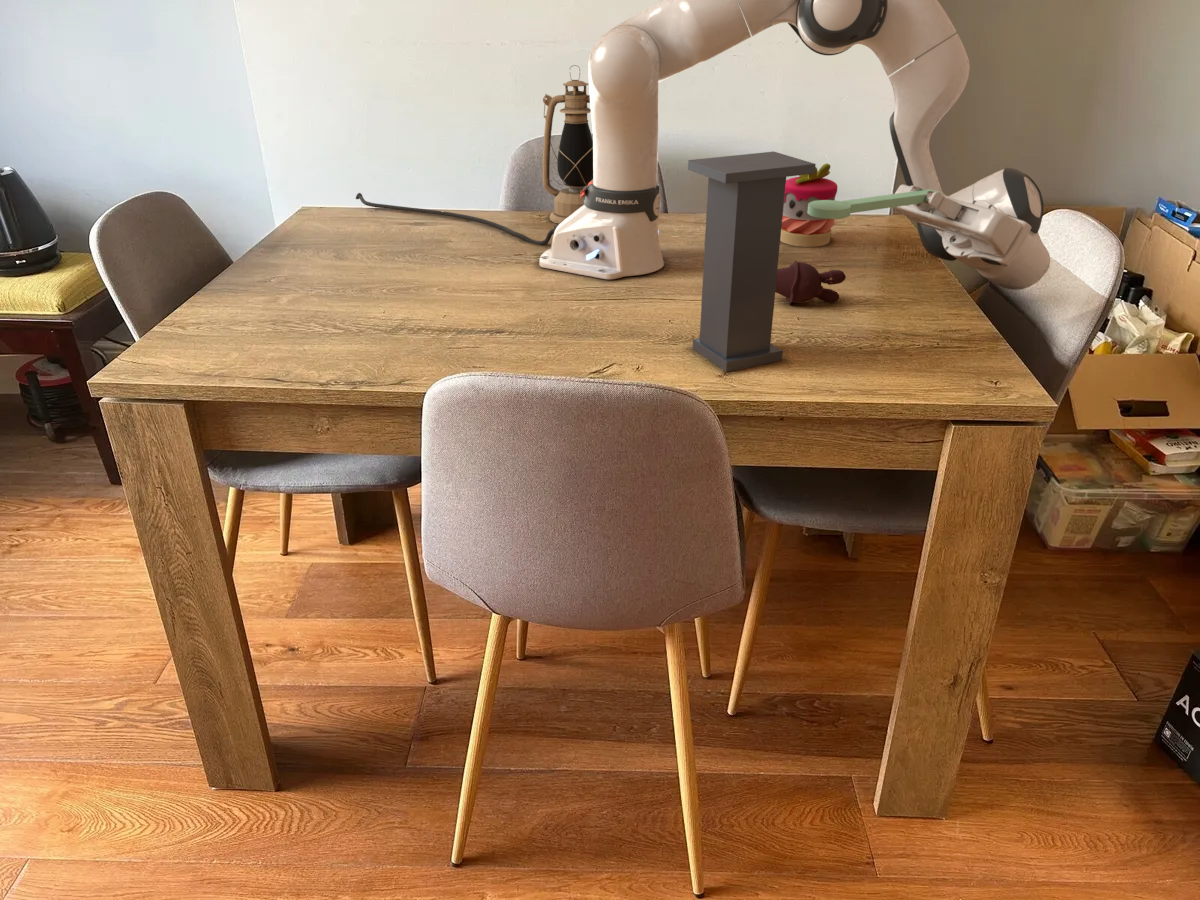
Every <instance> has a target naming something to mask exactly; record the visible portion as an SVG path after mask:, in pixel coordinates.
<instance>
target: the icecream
mask: <svg viewBox="0 0 1200 900" xmlns="http://www.w3.org/2000/svg"><path fill="white" fill-rule="evenodd" d="M846 279H847V276H846V274H845V272H844V271H842V270H840V269H830V270H828V271H824V272H819V271H818V269H817V268H816V267H815V266H814V265H813V266H812V265H811V264H809V263H806V262H802V261H797V259H796V260H794V261H793V263H791V264H789V266H785V267H782V268H778V269H777V280H776V290H775V294H778V295H780V296H782V297H784V298H785V300H786V301H787V304H788V305H791V304H792V303H794V304H803V303H807V302H809V301H812V300H813V299H815V298H816V299H817V300H820V301H821V302H824V303H831V304H833V303H836V302H838V301H840V294H839V293H838V291H836V290H833V289H831V288H824V286H823V285H822V284H827V285H828V286H831V285H838V284H841V283H843V282H844V281H846Z"/></svg>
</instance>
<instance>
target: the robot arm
mask: <svg viewBox="0 0 1200 900" xmlns="http://www.w3.org/2000/svg"><path fill="white" fill-rule="evenodd" d="M783 23H785V24H788V25H789V27H790V28H791V29H792V30H793V31H794V33H795V34H796V35H797V37H798V38H799V39H800V40H801V42H802V43H803V44H804V45H805V46H806V47H807V48H808V49H810V51H812V52H813V53H816V54H819V55H821V56H837V55H840V54H843V53H845V52H846V51H848V50H849V49H851V48H852V47H854V46H855V45H862V46H865V47H867V48H868V49H870V50H871V51H872V52H873V53H874V54H875V56H876V58H878V59H879V61H880V63H881V65H882V68H883V70H884V72H885V75H886V76H887V77H888V80H889V82H890V85H891V87H892V92H893V97H894V110H893V112H892V114H891V115H890V117H889V121H888V123H889V132H890V137H891V141H892V144H893V148H894V151H895V154H896V155H895V156H896V158H897V162H898V164H899V168H900V171H901V174H902V177H903V180H904V183H905V184H903V183H902V184H900V185H899V186H898V188H897V189H896V191H895V192H894V194H898V193H905V192H913V191H920V190H927V189H931V190H935V191H938V192H941V194H939V193H938V192H934V191H928V193H927V196H925V198H924V203H919V204H912V205H905V206H898V207H891V209H894V210H895V211H897V212H898V213H900V214H902V215H903V216H905V217H906V218H908V219H910V220H911V221H914V222H915V223H916V226H917V227H916V228H917V232H918V236H919V239H920V242H921V244H922V247H923V249H924V250H925V251H926V252H927V253H928V254H930V255H931V256H934V257H935V258H937V259H941V260H945V261H948V262H949V261H950V262H954V261H956V260H958V261H959V262H961V263H962V264H964V265H965V266H967V267H969V268H971V269H975V270H976V271H977V273H978V274H979V275H981V276H982V277H984V278H985V279H987V280H988V281H990V282H992V283H994V285H997V286H999V287H1001V288H1004V289H1007V290H1012V291H1020V290H1024V289H1027V288H1029V287H1032V286H1034V285H1035V284H1037V283H1038V282H1039V281H1041V280H1042V279H1043V278H1044V276H1045V275H1046V274H1047V272H1048V271H1049V268H1050V266H1051V256H1050V253H1049V250H1048V248H1047V247H1046V246H1045V244H1044V242H1043V241H1042V239H1041V237H1040V234H1039V231H1040V228H1041V225H1042V222H1043V216H1044V209H1045V207H1044V205H1045V204H1044V198H1043V195H1042V192H1041V190H1040V188H1039V186H1038V185H1037V183H1036V182H1035V181H1034V180H1033V179H1032V178H1031V176H1029V175H1028V174H1026V173H1025V172H1023V171H1021V170H1019V169H1016V168H1013V167H1004V168H1003V169H1000V170H998V171H996V172H994V173H992V174H990V175H988V176H985V177H983V178H981V179H980V180H979V179H978V180H977V181H976V182H974V183H972V184H970V185H968V186H966V187H964V188H962V189H959V190H958V191H956V192H954V193H952V194H949V195H947V194H946V193H944V192H943V190H942V187H941V186H942V185H941V184H940V181H939V177H938V174H937V171H936V167H935V165H934V162H933V159H932V158H933V157H932V155H931V150H930V140H931V137H932V134H933V132H934V131H935V128H936V127H937V125H938V124H939V123H940V121H941V120H942V119H943V118H944V117H945V116H946V114H947V113H948V112H949V111H950V110H951V109H952V107H954V105H955V104H956V102H957V101H958V100H959V99H960V97H961V95H962V94H963V92H964V90H965V88H966V86H967V83H968V80H969V77H970V69H971V65H970V60H969V57H968V53H967V50H966V48H965V46H964V44H963V42H962V39H961V38H960V35H959V34H958V33H957V30H956V28H955V26H954V24H953V22H952V21H951V19H950V17H949V16H948V14H947V12H946V11H945V9H944V7H943V6H942V5H941V3H940V2H939V1H938V0H660V1H659V2H657V3H655V4H653V5H651V6H649V7H647V8H646V9H644V10H642V11H640V12H639V13H637V14H635V15H633V16H631V17H629V18H627V19H625V20H624V21H623V22H620V23H619V24H617V25H615V26H614V27H612V28H610V30H608V31H607V32H605V33H604V34H602V35H601V36H600V37H599V38H598V39H597V40H596V42H595V43H594V45H593V46H592V48H591V51H590V52H589V53H590V54H589V56H588V63H587V64H588V65H587V66H588V67H587V68H588V69H587V70H588V84H589V85H588V89H589V95H590V103H589V106H590V107H589V109H591V112H590V119H591V129H592V130H591V132H592V140H593V180H592V181H591V182H589V184H588V186H586V187H585V188H583V191H581V192H580V193H582V194H581V196H580V198H583V200H584V205H583V206H582V207H580V208H579V209H578V210H576V211H575V212H574V213H573V214H571V215H570V216H569V217H568V218H566V219H565V220H564V221H563V222H562V223H560V224H559V223H557V224H554V225H553V228H551V229H549V231H548V232H547V234H546V237H545V239H543V240H539V241H538V240H535V239H532V238H530V237H529V236H527V235H524V234H523V233H520V232H517V231H515V230H512V229H511V228H508V227H506V226H504V225H502V224H499V223H496V222H494V221H491V220H488V219H484V218H480V217H476V216H472V215H467V214H462V213H458V212H457V213H456V212H450V211H444V212H441V211H442V210H435V209H427V208H420V207H411V206H410V207H409V206H401V205H392V204H386V203H385V204H384V203H375V202H371V201H367V200H365V198H364V196H363V194H362V193H361V192H358V193H357V194H356V196H355V200H359V201H360V202H361V203H362V204H363V205H365V206H366V207H371V208H377V209H386V210H396V211H403V212H410V213H411V212H413V213H420V214H428V215H435V216H436V215H438V216H445V217H451V218H457V219H463V220H467V221H472V222H477V223H480V224H483V225H487V226H490V227H494V228H496V229H498V230H501V231H503V232H505V233H507V234H509V235H511V236H513V237H516V238H518V239H521V240H523V241H525V242H527V243H529V244H533V245H537V246H545V245H548V244H549V242H550V241H551V247H550V248H548V249H547V250H545V251H544V252H542V254H541V255H540V256H539V263H538V264H539V267H541V268H542V269H543V268H544V269H549V270H554V271H558V272H559V271H560V272H565V273H570V274H574V275H580V276H585V277H591V278H596V279H602V280H616V279H620V278H623V277H633V276H642V275H648V274H651V273H654V272H658V271H659V270H661V269H662V268H663V267H664V266H665V261H664V257H663V253H662V248H661V242H660V234H659V233H660V230H659V224H658V223H659V222H658V218H659V217H660V216H659V215H660V210H661V194H660V184H659V183H658V170H659V169H658V163H659V84H660V83H661V82H664V81H666V80H667V79H669V78H671V77H674V76H676V75H678V74H681V73H682V72H685V71H687V70H689V69H691V68H693V67H695V66H698V65H700V64H703V63H705V62H707V61H709V60H711V59H712V58H715V57H716V56H718V55H720V54H722V53H724V52H726V51H728V50H730V49H732V48H733V47H735V46H738V45H739V44H741V43H743V42H744V41H746V40H748V39H750V38H752V37H754V36H756V35H758V34H759V33H761V32H763V31H765V30H767V29H769V28H771V27H773V26H777V25H779V24H783ZM551 238H552V240H551Z"/></svg>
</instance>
